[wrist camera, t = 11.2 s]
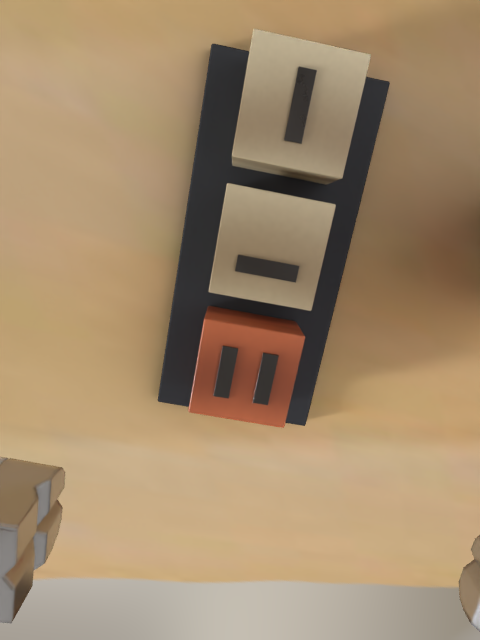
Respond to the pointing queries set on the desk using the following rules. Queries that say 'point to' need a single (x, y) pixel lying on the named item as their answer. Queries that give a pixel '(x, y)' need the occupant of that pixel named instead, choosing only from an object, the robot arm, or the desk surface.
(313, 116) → the tile
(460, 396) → the desk surface
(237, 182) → the felt mat
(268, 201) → the tile
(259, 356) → the pause symbol tile
